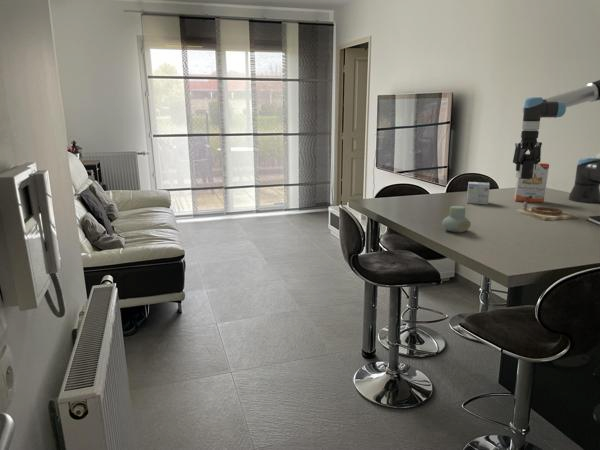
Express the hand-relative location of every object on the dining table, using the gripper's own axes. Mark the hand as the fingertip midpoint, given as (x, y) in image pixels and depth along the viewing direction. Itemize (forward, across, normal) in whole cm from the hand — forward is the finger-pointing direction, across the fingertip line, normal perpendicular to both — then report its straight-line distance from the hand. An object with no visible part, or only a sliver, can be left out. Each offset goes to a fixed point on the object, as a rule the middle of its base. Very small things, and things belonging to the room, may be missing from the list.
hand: (524, 177), depth 228 cm
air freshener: (+15, +58, +32) cm, 68 cm away
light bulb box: (+16, +14, -16) cm, 27 cm away
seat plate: (+16, 0, +17) cm, 23 cm away
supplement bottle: (+1, 0, 0) cm, 1 cm away
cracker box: (+16, -16, -13) cm, 26 cm away
